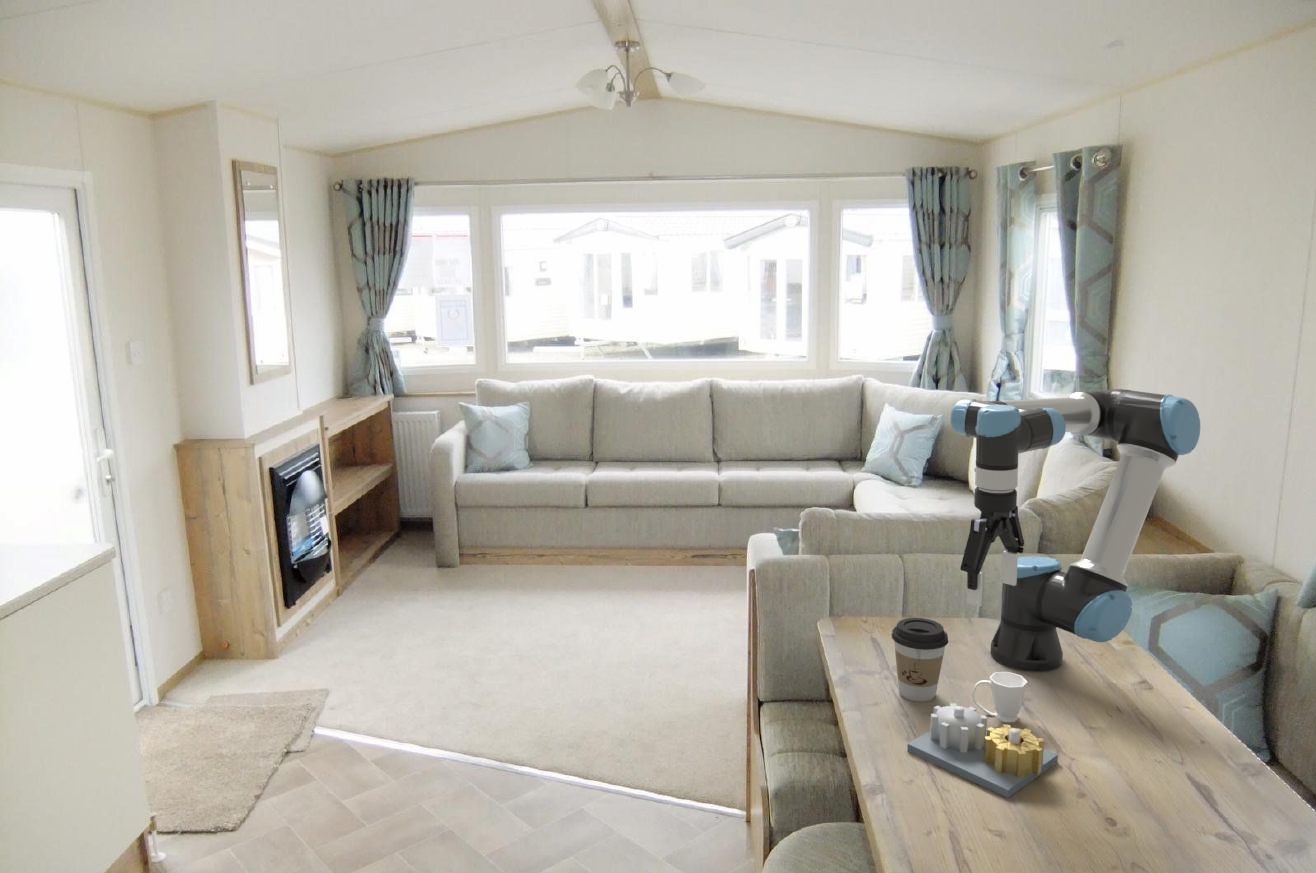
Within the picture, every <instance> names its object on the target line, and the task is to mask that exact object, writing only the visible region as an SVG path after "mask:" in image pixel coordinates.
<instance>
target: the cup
mask: <svg viewBox="0 0 1316 873" xmlns="http://www.w3.org/2000/svg"><path fill="white" fill-rule="evenodd" d="M981 684H982V685H983V684H984V685H986V686H989V687H990V695H991V702H992V706H993V710H994V712H991V711H990V710H987V709H986V708H985V707H984V706H983V705H981V704H980V703H979V702H978V701H977V700H976V699H975V698H976V697H975V692H976V690H977V688H978V687H979V686H980V685H981ZM1027 685H1028V681H1027V680H1026V678H1025V677H1024V676H1023V675H1021V674H1016V673H1013V672H1010V671H997V672H993V673H992V674H991V675H990V676H989V680H988V679H986V680H985V679H982V680H979V681H978V682H976V683H975V684H974V687H973V689H972V694H971V696H972V701H973V702H974V704H975V706H976V707H978V708H979V709H980V710H981V711H983V712H984V713H986V714H987V715H989V716H991V717H995V718H996V719H997V721H1000V722H1004V723H1015V722H1017V721H1018V719H1019V716H1018V715H1019V713H1020V711H1021V708H1022V705H1023V702H1024V698H1025V694H1026V691H1027V687H1028V686H1027Z"/></svg>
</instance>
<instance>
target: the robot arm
mask: <svg viewBox="0 0 1316 873" xmlns="http://www.w3.org/2000/svg"><path fill="white" fill-rule="evenodd" d="M949 420H950V426H951V428H952V430H953V431H954V432H955V433H956V434H959V435H963V436H964V437H967V438H973V439H976V441H975V446H976V447H975V468H974V469H973V471H974V472H975V474H974V475H975V478H974V479H975V482H974V485H975V486H976V487H975V489H974V497H973V498H974V499H973V501H974V502H973V504H974V507H975V508H976V509H978V510H979V512H980V517H979V519H975V518H972V519H971V521H970V528H969V534H968V536H967V537H968V538H967V541H966V544H965V549H964V552H963V556H962V560H961V564H960V571H963V572H967V578H966V579H967V580H966V604H969V605H973V606H976V607H982V606H983V586H984V585H983V582H984V579H983V578H984V572H981V571H982V568H983V566H984V563H985V560H986V558H987V555H988V553H989V549H990V547H991V546H992V543H993V544H994V542H996V540H997V538H998V537H999V539H1000V541H1001V543H1002V545H1003V547H1004V548H1005V550H1003V551H1002V559H1001V560H1002V562H1001V563H1002V564H1001V565H1002V566H1001V583H1002V589H1001V590H1002V591H1001V609H1000V610H1001V611H1000V622H999V624H998V626H997V629H996V631H995V633H994V635H993V638H992V640H991V643H990V656H991V657H992V659H993V660H995V661H996V662H997V663H999V664H1001V665H1003V666H1005V667H1008V668H1012V669H1015V670H1019V671H1024V672H1034V673H1038V672H1039V673H1040V672H1041V673H1042V672H1043V673H1044V672H1051V671H1054V670H1057V669H1059V668H1060V667H1061V666H1062V664H1063V656H1064V653H1063V649H1062V646H1061V642H1060V639H1059V638H1060V637H1059V634H1058V631H1057V628H1058V629H1060V630H1063V631H1065V632H1068V633H1071V634H1073V635H1076V636H1077V637H1079V638H1081V639H1087V640H1089V641H1092V642H1096V643H1106V642H1109V641H1111V640H1112V639H1113V638H1116V637H1117V636H1118V635H1120V633H1122V631H1123V630H1124V629H1125V627H1126V626H1127V624H1128V623H1129V620H1130V618H1131V615H1132V611H1133V609H1132V606H1133V602H1132V598H1131V597H1130V595H1129V594H1128V593H1127V589H1128V587H1129V584H1128V582H1127V580H1126V578H1125V572H1126V570H1127V567H1128V564H1129V562H1130V559H1131V558H1132V557H1131V556H1132V554H1133V551H1134V549H1135V547H1136V544H1137V541H1138V539H1139V536H1140V534H1141V530H1142V528H1143V525H1144V523H1145V520H1146V518H1147V516H1148V513H1149V510H1150V508H1151V506H1152V503H1153V500H1154V498H1155V495H1156V492H1157V489H1158V487H1159V484H1160V483H1161V480H1162V476H1163V474H1164V471H1165V470H1167V469H1168V468H1171V467H1174V466H1175V465H1176V463H1177V460H1178V458H1179V456H1184V455H1189V454H1191V452H1192V451H1193V450H1195V448H1196V446H1197V445H1198V443H1199V439H1200V434H1201V419H1200V412H1199V411H1198V409H1197V407H1196V406H1195V404H1194V403H1193V402H1192V401H1191V400H1189V399H1187V398H1186V397H1185V398H1184V397H1180V396H1174V395H1173V394H1162V393H1161V394H1160V393H1154V392H1146V391H1145V392H1144V391H1137V390H1130V389H1124V388H1123V389H1122V388H1120V389H1119V388H1117V389H1116V388H1115V389H1103V390H1102V389H1101V390H1093V391H1092V390H1091V391H1082V392H1081V391H1080V392H1079V391H1078V392H1073V393H1071V394H1070V395H1069V396H1067V397H1052V398H1047V397H1046V398H1033V399H1032V398H1029V399H1027V398H1026V399H1011V400H1010V399H1008V400H987V401H984V400H977V399H968V398H965V399H964V398H963V399H960V400H958V401H957V402H956V403H955V405H953V408H952V410H951V413H950V418H949ZM1066 433H1071V435H1074V436H1078V437H1083V436H1085V437H1086V436H1088V437H1095V438H1099V439H1102V440H1107V441H1111V442H1115V443H1117V445H1116V449H1117V450H1118V452H1119V454H1120V458H1119V461H1118V463H1117V466H1116V469H1115V471H1114V474H1113V476H1112V479H1111V481H1110V484H1109V487H1108V489H1107V492H1106V494H1105V497H1104V498H1103V502H1102V504H1101V507H1100V508H1099V513H1098V515H1097V517H1096V518H1095V519H1096V520H1095V522H1094V525H1093V527H1092V529H1091V532H1090V534H1089V538H1088V540H1087V543H1086V545H1085V547H1084V550H1083V553H1082V554H1081V558H1080V559H1079V560H1077V561H1075V562H1072V563H1070V565H1069V567H1068V570H1067V572H1064V571H1062V569H1063V566H1062V563H1061V562H1060V561H1059V560H1058V559H1056V558H1053V557H1048V556H1047V557H1046V556H1033V555H1032V556H1020V557H1018V555H1019V554H1018V553H1020V554H1023V553H1024V551H1025V550H1024V546H1025V539H1024V537H1023V535H1024V534H1023V532H1022V527H1021V522H1020V519H1019V507H1018V503H1017V499H1018V490H1016V488H1018V482H1019V481H1018V480H1019V479H1018V478H1019V477H1018V476H1019V473H1018V472H1019V454H1023V453H1027V452H1032V451H1036V450H1041V449H1043V450H1044V449H1048V448H1049V447H1051V446H1054V445H1057V444H1059V443H1060V442H1062V441H1063V439H1064V437H1065V435H1066Z"/></svg>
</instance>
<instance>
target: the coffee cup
mask: <svg viewBox="0 0 1316 873" xmlns="http://www.w3.org/2000/svg"><path fill="white" fill-rule="evenodd" d="M944 629H945V628H944V626H943V625H942V624H941V623H939V622H937V621H935V620H932V619H930V618H924V617H923V618H922V617H907V618H903V619H901V620H899V621H897V624H896V626H894V627H893V629H892V631H891V634H890V635H891V639H892V640H893V641H894V649H895V650H894V651H895V662H896V674H897V675H896V676H897V684H898V685H897V686H898V691H899V694H900V696H901V697H903V698H904V699H906V700H908V701H912V702H917V703H924V702H926V703H927V702H931V701H932V700H934V698H935V696H936V694H937V692H938V691H937V690H938V687H939V686H938V685H939V679H940V674H941V669H942V664H943V659H944V654H945V648H946V646H947V645H948V643H949V637H948V636H949V635H948V633H947V632H946V631H945V630H944Z"/></svg>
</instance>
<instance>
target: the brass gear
mask: <svg viewBox="0 0 1316 873" xmlns="http://www.w3.org/2000/svg"><path fill="white" fill-rule="evenodd" d="M991 727H992V726H990V728H988V729H987V736H985V738H984V754H983V760H984V762H985V763H991V764H992V765H993V766H994V767H995V771H996V772H998V773H1000V774H1001V773H1003V772H1006V773H1010V774H1016V776H1017V778H1025V774H1031V773H1034V774H1036V775H1038V774H1040V773H1041V766H1042V765H1043V752H1044V749H1045V748H1044V747H1045V740H1044V739H1043V738H1042V737H1037V736H1035V735H1034V734H1033V732H1032V730H1031V729H1028V728H1024V729H1021V728H1017V727H1011V724H1002V727H996V728H995V727H993V728H991ZM994 728H995V729H994ZM1010 729H1017V730H1019V731H1020V742H1019V744H1015V743H1011V742H1009V730H1010ZM1040 775H1041V774H1040Z"/></svg>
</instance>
